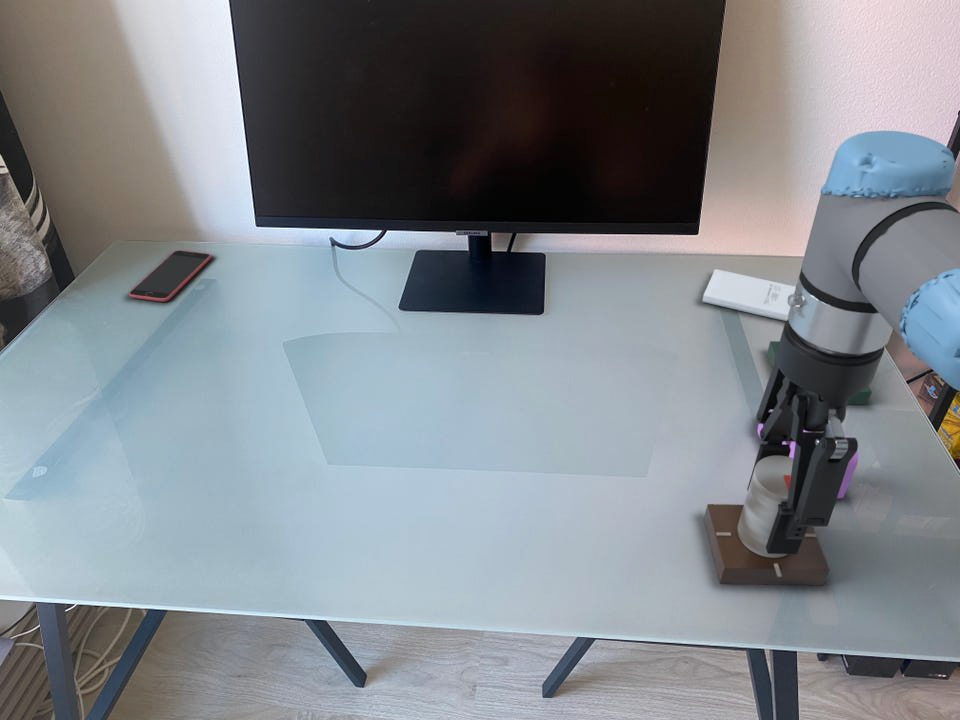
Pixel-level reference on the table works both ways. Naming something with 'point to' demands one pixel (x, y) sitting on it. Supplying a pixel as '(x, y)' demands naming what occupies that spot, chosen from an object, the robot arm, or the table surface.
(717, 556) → the panel
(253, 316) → the table surface
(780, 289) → the hard drive
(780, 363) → the robot arm
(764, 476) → the dial
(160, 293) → the smartphone
